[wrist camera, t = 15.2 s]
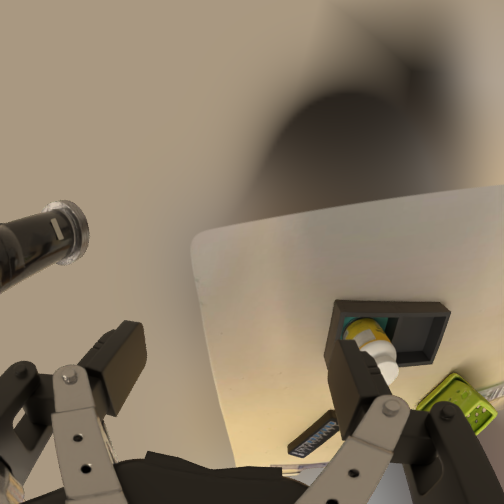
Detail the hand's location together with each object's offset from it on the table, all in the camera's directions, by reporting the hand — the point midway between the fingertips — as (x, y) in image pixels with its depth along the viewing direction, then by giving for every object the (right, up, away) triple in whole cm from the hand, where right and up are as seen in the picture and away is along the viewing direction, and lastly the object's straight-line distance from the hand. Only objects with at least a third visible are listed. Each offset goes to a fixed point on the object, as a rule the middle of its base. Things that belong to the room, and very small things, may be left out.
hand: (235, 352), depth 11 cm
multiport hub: (+14, -33, +40) cm, 54 cm away
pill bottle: (+18, -9, +32) cm, 38 cm away
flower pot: (+43, -28, +37) cm, 63 cm away
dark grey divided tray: (+23, -9, +33) cm, 41 cm away
